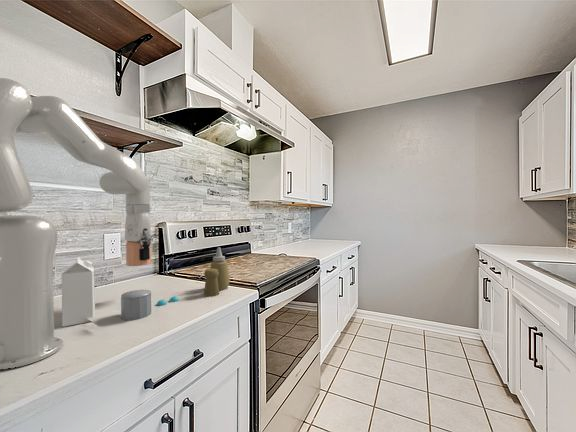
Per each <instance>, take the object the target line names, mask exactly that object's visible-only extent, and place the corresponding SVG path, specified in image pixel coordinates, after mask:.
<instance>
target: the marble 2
mask: <svg viewBox="0 0 576 432" xmlns="http://www.w3.org/2000/svg"><path fill="white" fill-rule="evenodd" d="M168 301H169V302H170V303H177V302H179V298H178V296H174V295H173V296H171V297H170V298H169V300H168Z"/></svg>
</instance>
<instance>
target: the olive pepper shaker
mask: <svg viewBox="0 0 576 432" xmlns="http://www.w3.org/2000/svg"><path fill="white" fill-rule="evenodd" d="M203 275H204V278H205V284H204V291H203V296H204V297H206V298H207V297H209V298H211V297H216V296H219V295H220V291H219V287H218V280H217V277H218V275H219V272H218V270H217V269H210V268H208V269H206V270H204V273H203Z"/></svg>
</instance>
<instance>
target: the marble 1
mask: <svg viewBox="0 0 576 432" xmlns="http://www.w3.org/2000/svg"><path fill="white" fill-rule="evenodd" d="M166 305H167V301H166V300H165V299H160V300H158V301H157V303H156V307H162V306H166Z"/></svg>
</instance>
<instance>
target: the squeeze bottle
mask: <svg viewBox="0 0 576 432" xmlns="http://www.w3.org/2000/svg"><path fill="white" fill-rule="evenodd" d="M209 269H217V270H218V272H219V275H218V277H217V280H218V287H219V292H220V291H224V290H228V288H229V284H230V276H229V267H228V262H227V260H226V256H225V255H223V253H222V249H221V247H220V246H219V247H217V248H216V253H215V255H214V256H212V261H211V262H210V268H209Z"/></svg>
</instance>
